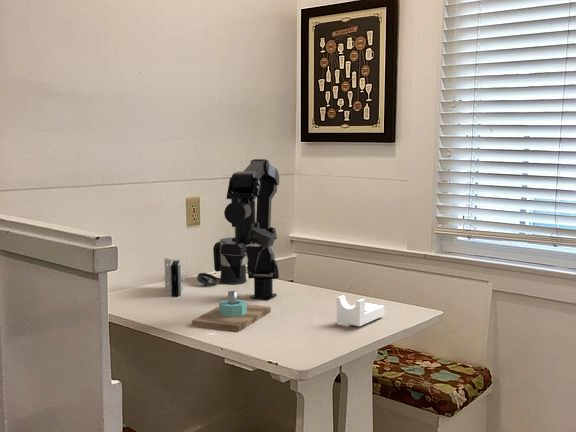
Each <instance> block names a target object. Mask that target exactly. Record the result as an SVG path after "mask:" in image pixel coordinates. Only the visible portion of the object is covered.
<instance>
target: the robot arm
mask: <svg viewBox="0 0 576 432" xmlns="http://www.w3.org/2000/svg"><path fill="white" fill-rule="evenodd" d="M279 185H280V175H279V172H278V168H276V166H273V165H272V164H270V162H269V160H268V159H265V158H261V159H260V158H255V159H251V160H250V163H249V165H248V166H247V167H246V168H245V169H244V170H242V171H236V172H234V173H233V174H232V175H231V177H230V178H229V181H228V187H227V192H226V193H227V194H226V200H230V201H231V202H230V203H228V204H227V205H226V207H225V209H224V211H223V213H224V218H225V220H226V221H227V222H228V223H230V224H231V228H234V237H233V236H232V237H231V238H232V242H226V243H223V244H222V245H221V246H220V254H223V256H225V258H226V260H227V261H228V263H229V265H230V267H231V268H232V270H233V272H234V274H235V276H236V278H240V277H241V268H242V260H243V258H244V257H245V256H246V259H247V261H246V262H247V263H246V268H247V276H248V277H247V278H248V279H253V280H254V281H253V294H252V295H250V296H249V298H250V299H256V300H257V299H258V300H271V299H272V298H275V297H277V295H278V294H277V293H275V292H274V291H273V290H274V289H273V286H274V285H273V284H274V283H273V280H276V279H279V278H280V274H279V273H280V271H279V266H278V264H277V260H276V259H275V253H274V251H273V249H272V248H271V247H273V245H274V242H275V241H276V240H277V239H278V236H277V231H276V227H273V226H271V221H272V218H271V217H272V199H273V198H274V196H275V195H276V194H277V191H278V186H279ZM245 253H246V254H245Z"/></svg>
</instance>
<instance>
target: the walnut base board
mask: <svg viewBox="0 0 576 432" xmlns="http://www.w3.org/2000/svg"><path fill="white" fill-rule="evenodd" d="M271 311H272V307H271V306H266V305H265V306H264V305H256V304H248V303H247V313H246V314H245V315H243V316H237V317H226V316H222V315H220V314H219V306H217V307H215V308H213V309H211V310H209V311H207V312H205V313H204V314H202V315H200V316H198V317H195V318H193V319H191V326H192V327H199V328H200V327H201V328H209V329H214V328H215V330H222V329H224V331H231V330H232V331H233V332H239V331H240V332H241V331H243V330H244V329H246V328H247V326H248V327H249V326H251V325H252V324H254V323H256V322H257V321H259V320H261V319H262V318H264V317H265V316H267V315H268V314H270V313H271ZM263 316H264V317H263ZM258 319H259V320H258ZM255 321H256V322H255ZM250 324H251V325H250Z"/></svg>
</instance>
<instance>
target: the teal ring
mask: <svg viewBox="0 0 576 432" xmlns="http://www.w3.org/2000/svg"><path fill="white" fill-rule="evenodd" d="M247 304H248V303H247V302H246V301H245V300H244V299H237V304H234V305H230V304H228V299H223V300H221V301H220V302H218V307H219V314H220V315H222V316H226V317H237V316H243V315H245V314H246V313H247Z"/></svg>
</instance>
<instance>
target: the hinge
mask: <svg viewBox="0 0 576 432" xmlns="http://www.w3.org/2000/svg"><path fill="white" fill-rule="evenodd" d="M183 271H184V269H183V260H182V259H181V258H168V257H164V288H165V289H168V290H169V297H171V298H175V296H176V298H178V297H182V295H183V290H184V272H183Z"/></svg>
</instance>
